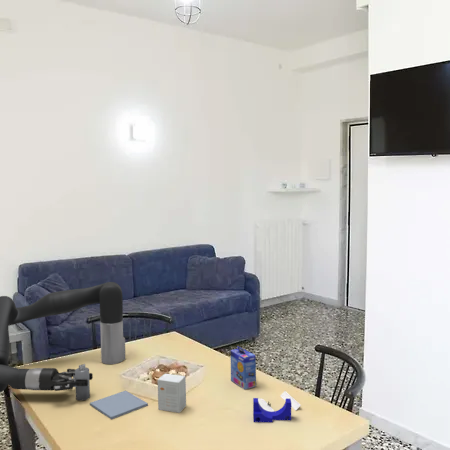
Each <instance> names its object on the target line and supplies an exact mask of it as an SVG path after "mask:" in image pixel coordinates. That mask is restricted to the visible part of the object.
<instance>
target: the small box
mask: <svg viewBox="0 0 450 450" xmlns="http://www.w3.org/2000/svg"><path fill="white" fill-rule="evenodd" d="M186 383H187V382H186V375H179V374H169V373H164V374H163V375H161V376H160V377H159V378H158V379H157V405H158V407H157V408H158V410H159V411H165V412H173V413H178V414H180V413H181V412H182V411H183V410H184V409H185V407H186V406H187V386H186V385H187V384H186Z"/></svg>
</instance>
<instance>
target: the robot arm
mask: <svg viewBox="0 0 450 450" xmlns="http://www.w3.org/2000/svg"><path fill="white" fill-rule="evenodd" d="M123 301H124V300H123V289H122V287H121V286H120V285H119V284H118V283H117V282H114V281H108V282H104V283H100V284H97V285H93V286H90V287H84V288H76V289H69V290H68V289H67V290H60V291H55V292H54V291H53V292H50V293H48V294H45V295H44V296H41V298H39V299H38V300H36V301H35V302H34V303H32V304H29V305H24V306H20V307H17V306H16V304H15V301H14V300H13V299H12V298H11V297H10V296H7V295H2V296H0V393H1V392H3V391H5V390H6V388H7V387H8V386H9V387H11V388H12V389H13V390H14V389H15V390H27V391H28V390H29V391H55V392H58V391H59V392H60V391H69V390H71V391H72V390H73V389H74V388H75V387H76V386H87V385H88V380H87V379H77V380H76V379H75V370H76V369H77V368H76V369H75V368H67V369H66V371H62V372H59V370H58V369H57V367H34V368H18V367H14V366H9V359H10V347H11V346H10V345H11V344H10V341H11V340H10V333H9V332H10V331H9V327H10V326H14V325H17V324H21V323H25V322H27V321H31V320H36V319H41V318H46V317H49V316H51V317H52V316H57V315H62V314H68V313H71V312H74V311H76V310H79V309H82V308H84V307H86V306H90V305H95V304H99V318H100V319H99V321H100V322H99V323H100V324H99V325H100V353H101V354H100V359H101V360H100V361H101V363H102V364H105V365H115V364H120V363H121V362H123V361H124V360H126V338H125V337H124V322H123V321H124V320H123V319H124V318H123V317H124V310H123V308H124V307H123V304H124V302H123ZM93 376H94V375H93V373H92V372H89V381H92V380H93V378H94V377H93Z"/></svg>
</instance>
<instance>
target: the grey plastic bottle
mask: <svg viewBox="0 0 450 450" xmlns="http://www.w3.org/2000/svg"><path fill="white" fill-rule="evenodd" d="M89 373H90V368H89V367H86V364H85V363H83V364H79V365H78V367H77V368H76V370H75V379H76V380H77V379H87V380H88V385H87V386H76V387H74V388H75V400H77V401H86V400H88V399H90V397H91V392H90V391H91V387H90V381H91V380H89Z"/></svg>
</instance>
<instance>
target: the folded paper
mask: <svg viewBox="0 0 450 450" xmlns="http://www.w3.org/2000/svg"><path fill="white" fill-rule="evenodd" d="M279 397H280V398H282V399H283V401H284V402H285V401H286V399H291V409H293V410H294V411H297V410H298V409H299V408H300V407H301V406H302V404H300V402H299V401H297V400H296V399H295V398H294V397H293V396H291V394H289V393H288V392H287V391H286V390H284V391H283V392H282V393H281V394H280V395H279ZM257 398H258V402H259V404H260V406H261V407H262V408H263V409H264V410H266V411H270V412H274V411H275V409H273V407H272V406H271V405H272V404H271V403H270V402H269V401H268V402H267V401H266V400H265V399H264V398H259V397H257Z"/></svg>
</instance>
